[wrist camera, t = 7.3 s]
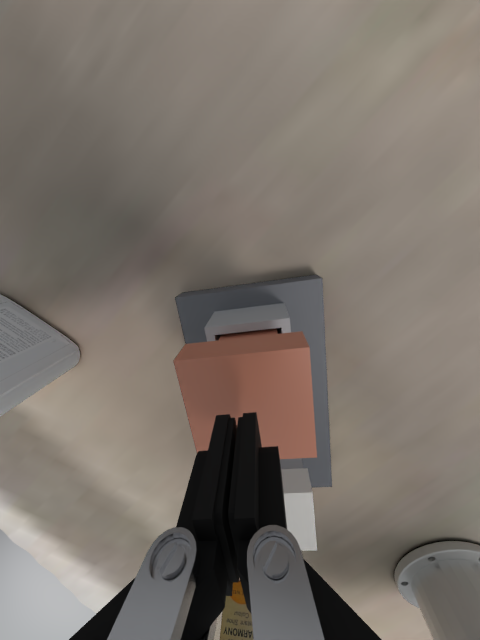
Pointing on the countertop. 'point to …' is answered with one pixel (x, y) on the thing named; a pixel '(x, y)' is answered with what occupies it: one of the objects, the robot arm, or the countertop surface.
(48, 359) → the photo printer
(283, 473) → the white plunger
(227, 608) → the shoe polish box
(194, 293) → the block
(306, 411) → the salmon pink block
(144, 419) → the countertop surface
